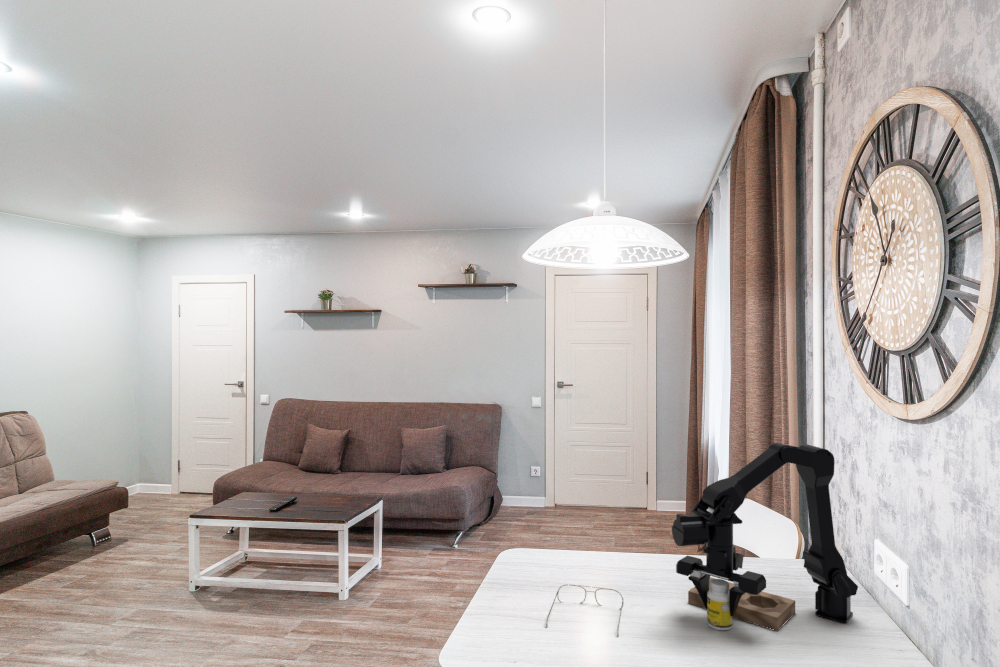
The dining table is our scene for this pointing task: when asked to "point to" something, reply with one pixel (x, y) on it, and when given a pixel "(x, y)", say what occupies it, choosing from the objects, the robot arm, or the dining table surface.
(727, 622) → the supplement bottle
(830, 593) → the robot arm
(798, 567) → the dining table surface
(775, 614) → the socket board
